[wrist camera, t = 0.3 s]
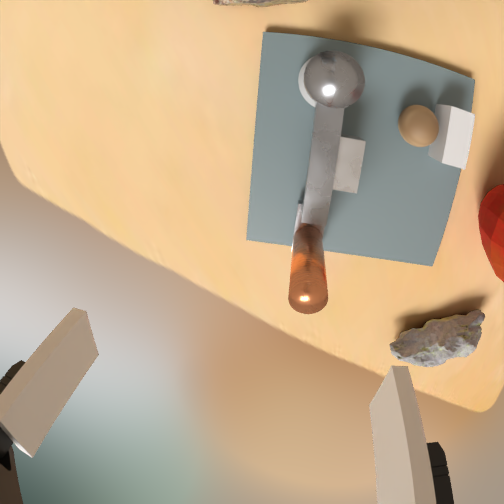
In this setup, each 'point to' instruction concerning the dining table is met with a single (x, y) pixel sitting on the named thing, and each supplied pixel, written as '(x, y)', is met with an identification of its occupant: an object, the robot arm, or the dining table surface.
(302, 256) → the lever
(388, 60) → the board
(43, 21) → the dining table surface
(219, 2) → the rock
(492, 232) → the apple
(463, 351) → the mineral specimen
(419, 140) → the light brown ball
